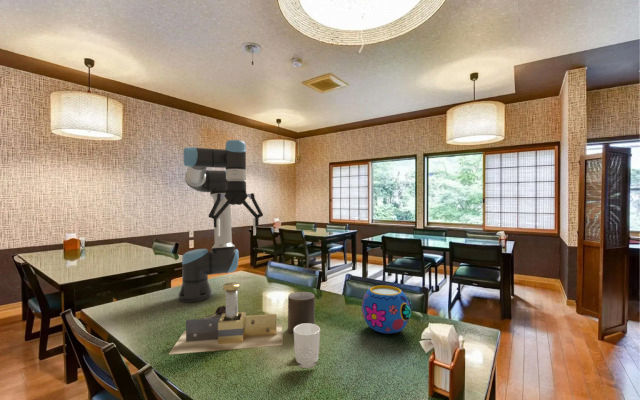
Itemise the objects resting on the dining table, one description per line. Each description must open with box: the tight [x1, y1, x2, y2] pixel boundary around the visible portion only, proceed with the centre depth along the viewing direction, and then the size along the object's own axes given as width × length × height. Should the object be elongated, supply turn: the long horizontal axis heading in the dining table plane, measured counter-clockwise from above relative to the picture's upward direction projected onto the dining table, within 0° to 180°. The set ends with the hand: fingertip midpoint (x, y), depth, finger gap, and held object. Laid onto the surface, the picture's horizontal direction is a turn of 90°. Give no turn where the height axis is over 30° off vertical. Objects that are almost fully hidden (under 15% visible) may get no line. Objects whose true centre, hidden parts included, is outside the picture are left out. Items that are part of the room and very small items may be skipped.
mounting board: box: [167, 323, 284, 355], centre depth 100 cm, size 16×35×1 cm, turn 99°
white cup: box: [293, 323, 321, 369], centre depth 87 cm, size 8×8×10 cm
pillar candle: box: [287, 291, 316, 336], centre depth 106 cm, size 10×10×15 cm
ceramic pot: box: [361, 285, 412, 335], centre depth 107 cm, size 18×18×15 cm
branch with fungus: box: [199, 305, 226, 319], centre depth 115 cm, size 18×7×6 cm, turn 139°
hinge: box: [185, 311, 277, 344], centre depth 100 cm, size 8×30×7 cm, turn 99°
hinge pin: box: [222, 282, 241, 321], centre depth 100 cm, size 5×5×18 cm
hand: (236, 235), depth 113 cm, fingers open, 13 cm apart
